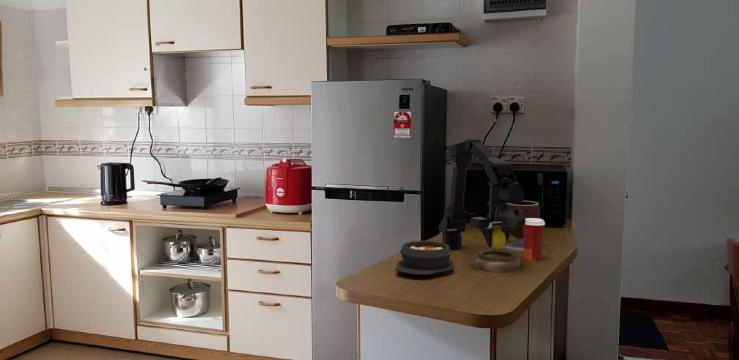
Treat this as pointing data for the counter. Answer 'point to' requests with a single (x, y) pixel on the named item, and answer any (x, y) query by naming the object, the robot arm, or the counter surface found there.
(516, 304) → the counter surface
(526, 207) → the mate gourd
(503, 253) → the stand
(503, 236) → the lemon
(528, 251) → the paper cup
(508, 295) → the counter surface
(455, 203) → the robot arm
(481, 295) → the counter surface
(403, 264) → the casserole
